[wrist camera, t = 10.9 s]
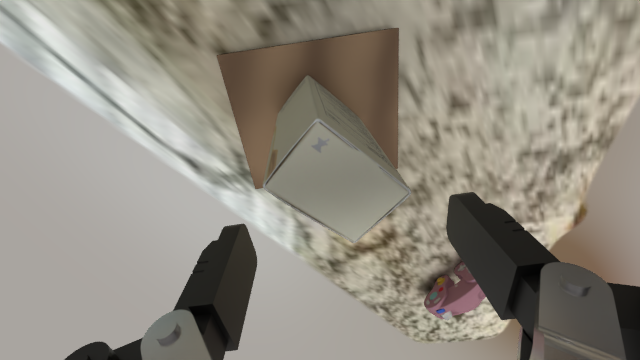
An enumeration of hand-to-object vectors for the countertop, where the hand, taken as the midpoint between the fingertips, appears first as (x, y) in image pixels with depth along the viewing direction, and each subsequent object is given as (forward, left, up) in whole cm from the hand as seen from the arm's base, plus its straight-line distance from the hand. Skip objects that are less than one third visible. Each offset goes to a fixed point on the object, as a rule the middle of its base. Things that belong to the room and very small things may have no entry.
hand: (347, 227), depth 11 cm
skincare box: (0, 0, -15) cm, 15 cm away
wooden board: (0, 0, -16) cm, 16 cm away
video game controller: (-14, +23, -16) cm, 32 cm away
